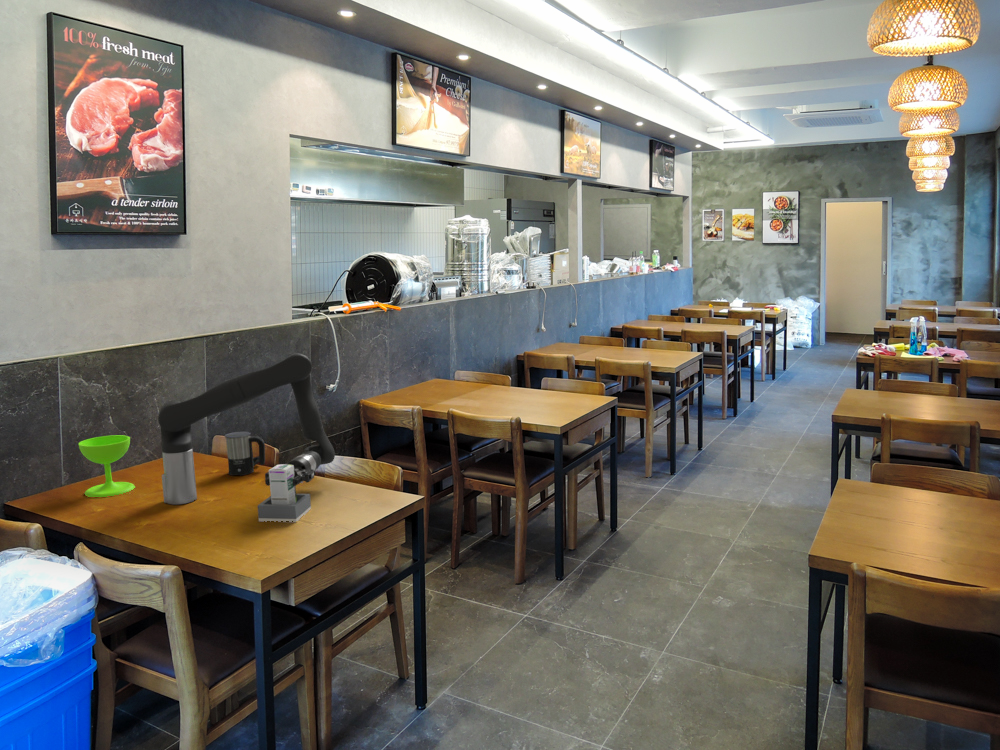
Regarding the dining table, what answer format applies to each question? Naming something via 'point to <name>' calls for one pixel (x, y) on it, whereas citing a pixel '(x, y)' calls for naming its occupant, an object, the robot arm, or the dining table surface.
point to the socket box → (284, 510)
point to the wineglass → (106, 462)
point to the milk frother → (243, 452)
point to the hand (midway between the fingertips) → (280, 482)
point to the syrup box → (282, 485)
